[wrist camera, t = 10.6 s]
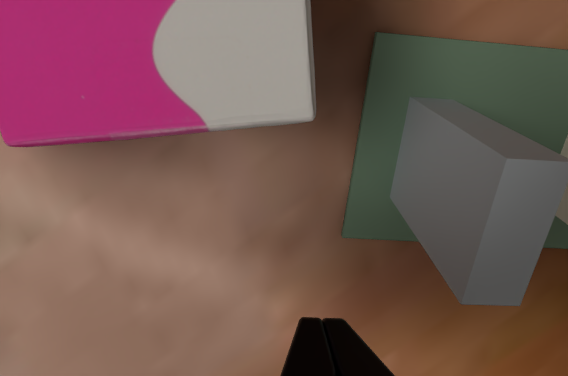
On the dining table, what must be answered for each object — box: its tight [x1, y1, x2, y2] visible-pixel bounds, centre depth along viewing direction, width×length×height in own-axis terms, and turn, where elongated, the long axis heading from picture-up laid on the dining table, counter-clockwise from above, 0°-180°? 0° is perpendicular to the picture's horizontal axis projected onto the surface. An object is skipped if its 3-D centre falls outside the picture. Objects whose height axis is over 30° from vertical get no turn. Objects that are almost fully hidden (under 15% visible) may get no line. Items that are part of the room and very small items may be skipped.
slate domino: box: [390, 97, 568, 306], centre depth 16 cm, size 5×2×8 cm, turn 175°
